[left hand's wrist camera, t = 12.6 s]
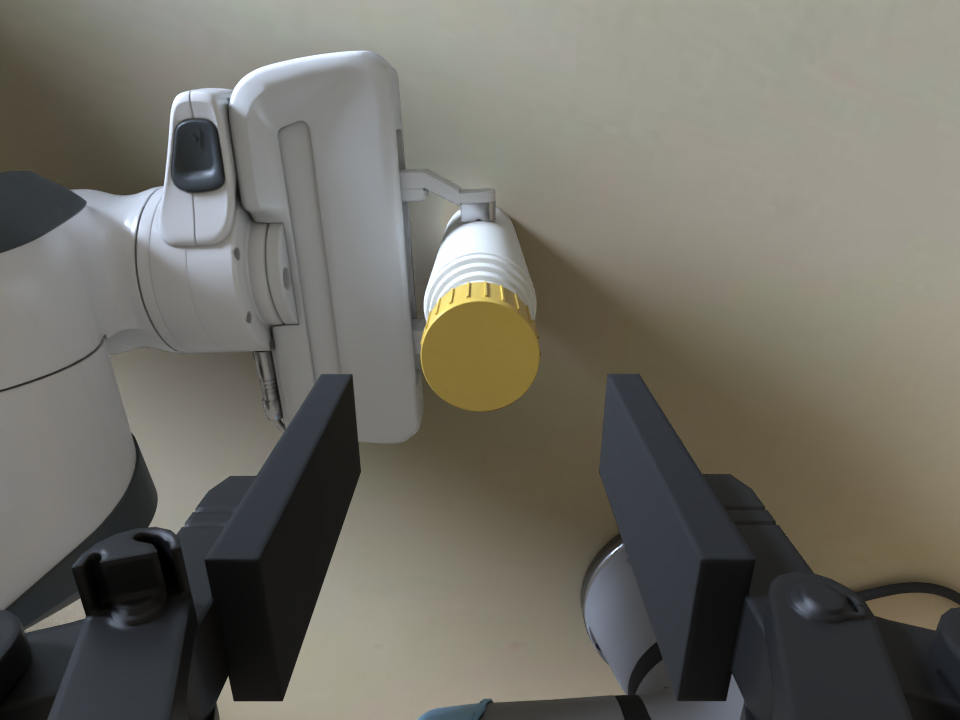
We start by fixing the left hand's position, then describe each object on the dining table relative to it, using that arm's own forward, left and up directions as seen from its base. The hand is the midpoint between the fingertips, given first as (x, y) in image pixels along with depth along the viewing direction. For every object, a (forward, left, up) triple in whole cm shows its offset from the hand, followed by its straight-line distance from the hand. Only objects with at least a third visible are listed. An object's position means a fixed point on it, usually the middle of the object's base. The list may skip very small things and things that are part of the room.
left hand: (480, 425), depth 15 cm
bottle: (0, 0, -25) cm, 25 cm away
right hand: (-1, 0, -19) cm, 19 cm away
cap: (0, 0, -5) cm, 5 cm away
